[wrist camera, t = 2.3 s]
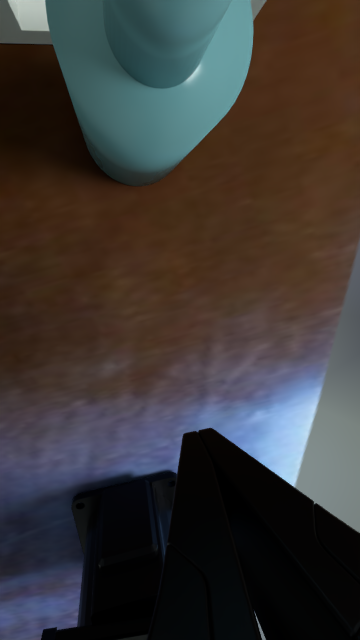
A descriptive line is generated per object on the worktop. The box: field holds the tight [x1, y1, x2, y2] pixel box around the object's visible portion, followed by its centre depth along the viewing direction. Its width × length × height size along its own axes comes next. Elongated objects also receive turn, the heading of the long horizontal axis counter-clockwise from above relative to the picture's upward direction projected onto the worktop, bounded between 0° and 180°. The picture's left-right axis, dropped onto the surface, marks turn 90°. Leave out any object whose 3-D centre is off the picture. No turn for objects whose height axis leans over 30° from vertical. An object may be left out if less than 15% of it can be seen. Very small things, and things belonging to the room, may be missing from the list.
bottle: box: [45, 0, 253, 186], centre depth 8 cm, size 4×4×10 cm
